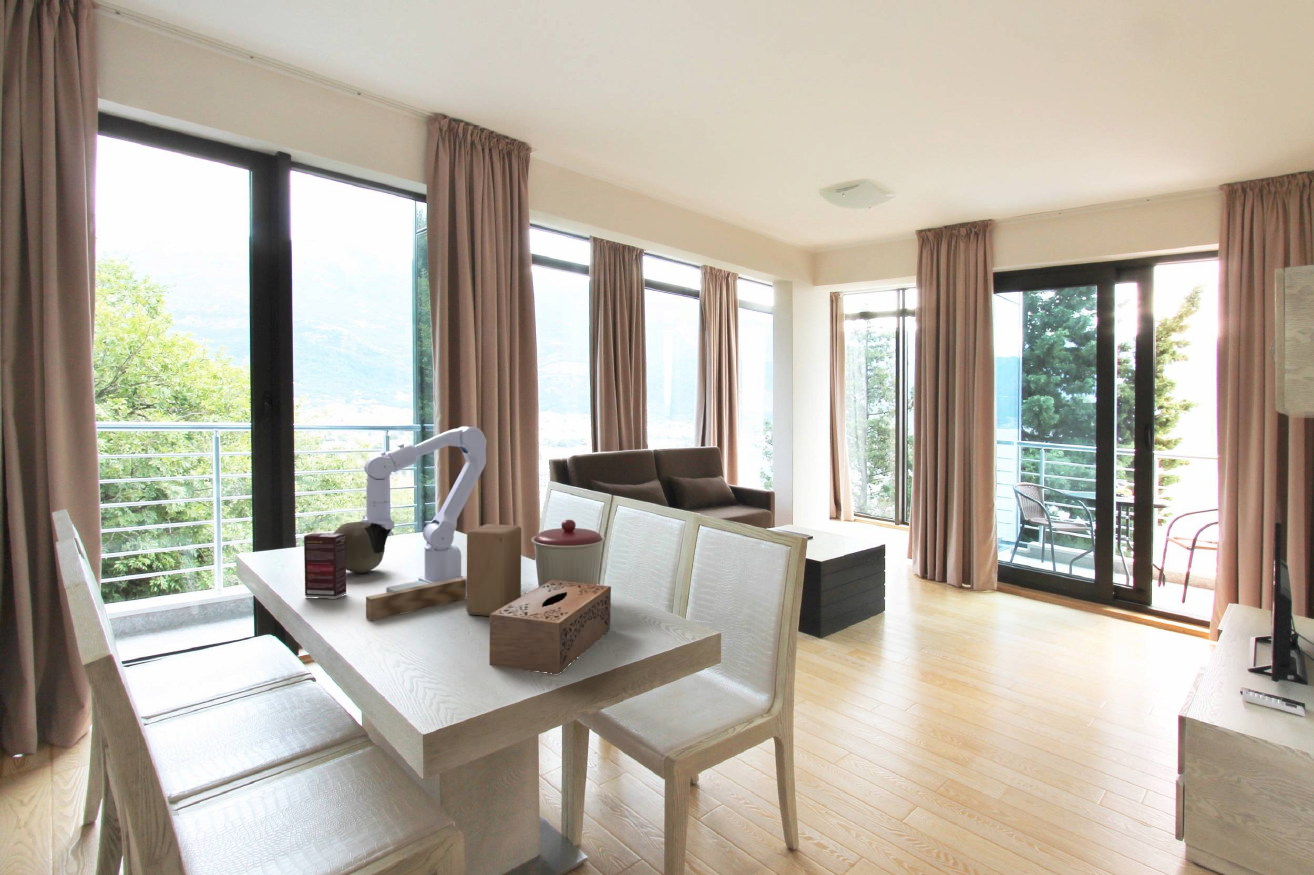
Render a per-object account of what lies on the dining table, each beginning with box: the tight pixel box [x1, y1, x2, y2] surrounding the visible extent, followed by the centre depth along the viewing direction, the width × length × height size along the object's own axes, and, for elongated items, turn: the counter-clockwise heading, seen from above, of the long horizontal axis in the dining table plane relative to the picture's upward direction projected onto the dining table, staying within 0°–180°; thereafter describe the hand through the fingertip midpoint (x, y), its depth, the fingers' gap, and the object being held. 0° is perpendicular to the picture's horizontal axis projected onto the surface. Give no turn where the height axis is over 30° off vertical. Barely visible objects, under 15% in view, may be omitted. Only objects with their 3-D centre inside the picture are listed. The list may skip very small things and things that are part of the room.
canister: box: [530, 519, 606, 587], centre depth 160 cm, size 18×18×21 cm
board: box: [365, 578, 467, 622], centre depth 155 cm, size 24×2×5 cm, turn 137°
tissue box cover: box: [489, 580, 612, 675], centre depth 132 cm, size 26×14×10 cm, turn 162°
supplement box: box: [303, 532, 347, 600], centre depth 162 cm, size 9×5×16 cm, turn 84°
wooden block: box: [466, 523, 522, 617], centre depth 154 cm, size 10×10×20 cm
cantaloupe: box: [333, 520, 386, 574], centre depth 185 cm, size 14×14×15 cm
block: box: [385, 579, 430, 593], centre depth 158 cm, size 9×7×4 cm
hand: (378, 552), depth 171 cm, fingers closed
